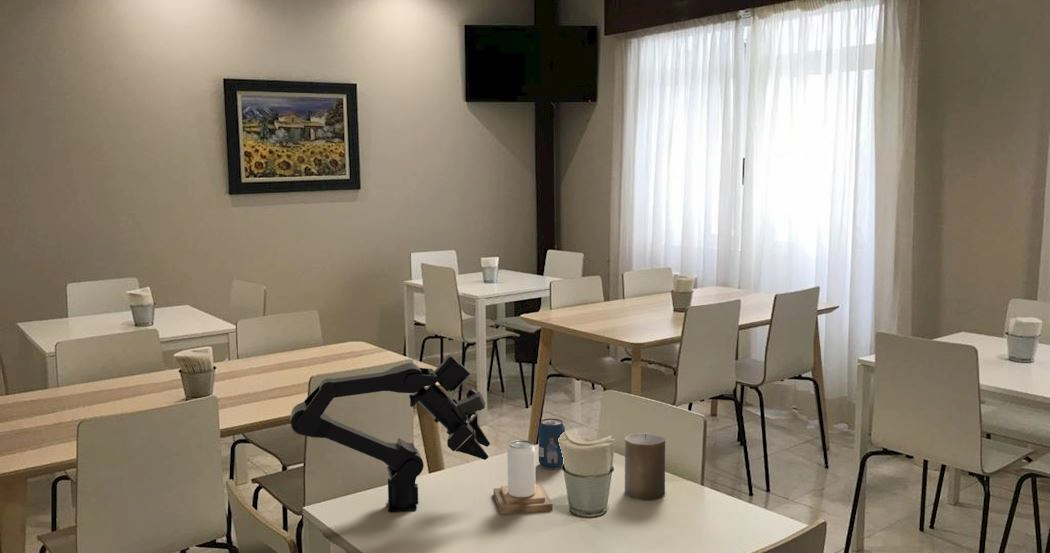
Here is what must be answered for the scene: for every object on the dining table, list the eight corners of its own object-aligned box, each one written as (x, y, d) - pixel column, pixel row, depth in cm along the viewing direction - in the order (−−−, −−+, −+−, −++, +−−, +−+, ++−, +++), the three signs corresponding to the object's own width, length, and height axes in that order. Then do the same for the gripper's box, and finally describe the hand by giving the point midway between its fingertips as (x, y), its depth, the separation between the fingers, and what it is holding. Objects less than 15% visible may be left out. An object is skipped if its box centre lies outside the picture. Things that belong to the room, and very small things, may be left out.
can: (532, 487, 205) (531, 438, 204) (538, 497, 199) (538, 447, 197) (505, 489, 204) (505, 440, 202) (510, 499, 197) (510, 449, 196)
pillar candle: (670, 499, 204) (671, 438, 202) (630, 502, 202) (631, 440, 200) (657, 485, 213) (658, 426, 211) (619, 487, 212) (620, 428, 210)
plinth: (501, 514, 195) (500, 503, 195) (493, 494, 207) (493, 484, 207) (552, 510, 198) (552, 499, 197) (542, 490, 209) (542, 481, 209)
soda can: (555, 459, 232) (555, 416, 230) (570, 466, 226) (570, 422, 224) (533, 464, 228) (533, 420, 226) (548, 472, 222) (548, 427, 221)
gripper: (461, 392, 189) (511, 440, 191) (467, 372, 208) (512, 416, 209) (426, 426, 190) (476, 475, 192) (435, 403, 209) (480, 447, 210)
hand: (487, 451), depth 201 cm, fingers open, 9 cm apart
